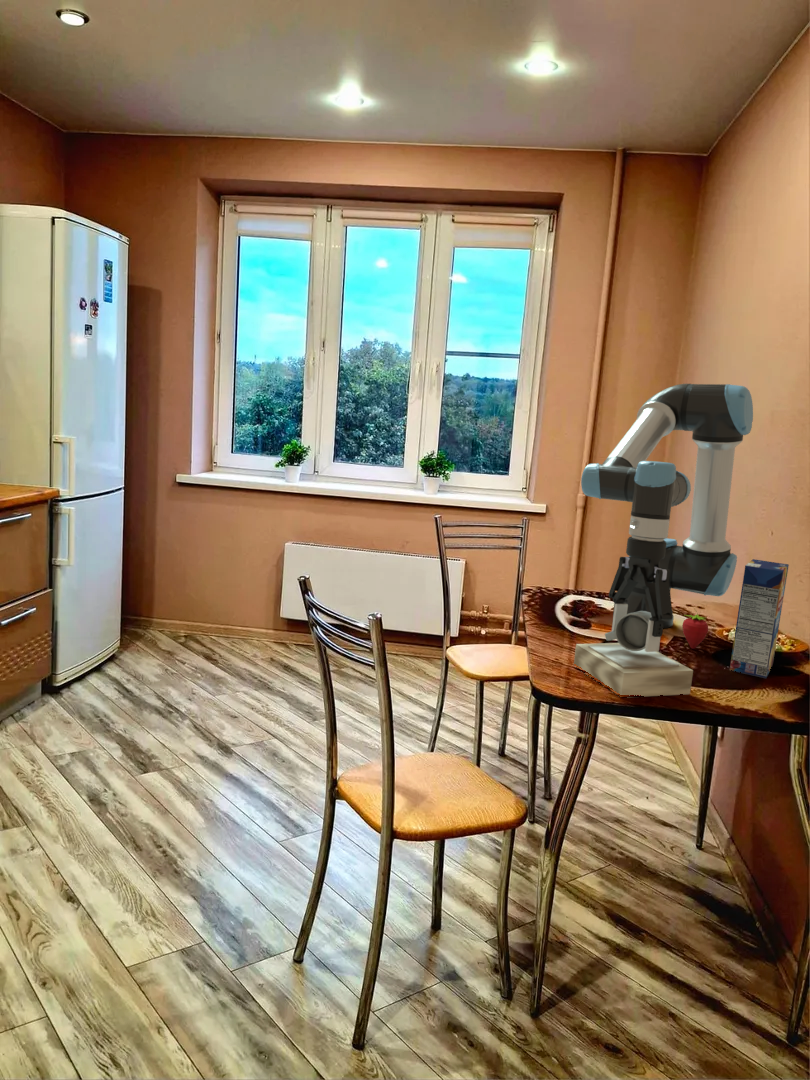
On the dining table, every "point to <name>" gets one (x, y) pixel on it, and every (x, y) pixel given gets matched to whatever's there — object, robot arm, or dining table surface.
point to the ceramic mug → (631, 630)
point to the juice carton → (758, 617)
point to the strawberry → (694, 630)
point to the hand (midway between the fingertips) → (634, 642)
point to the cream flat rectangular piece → (633, 670)
